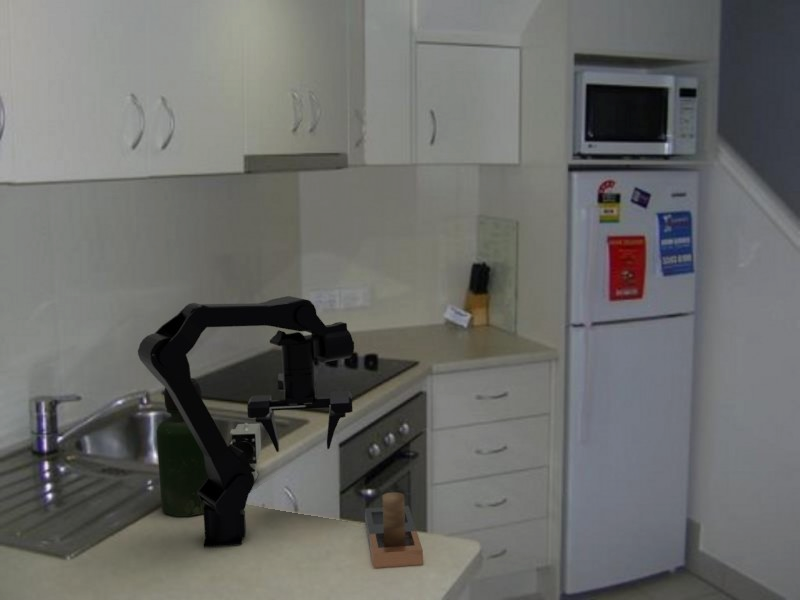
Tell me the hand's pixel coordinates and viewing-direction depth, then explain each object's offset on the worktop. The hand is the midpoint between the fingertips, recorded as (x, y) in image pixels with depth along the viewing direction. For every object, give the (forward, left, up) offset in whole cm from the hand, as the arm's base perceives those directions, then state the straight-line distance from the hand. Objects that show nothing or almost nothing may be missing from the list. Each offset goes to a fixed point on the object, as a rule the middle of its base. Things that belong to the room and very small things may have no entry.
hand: (303, 449), depth 167 cm
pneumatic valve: (-12, +24, -13) cm, 30 cm away
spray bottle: (-22, +9, -13) cm, 28 cm away
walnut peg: (+15, -19, -13) cm, 27 cm away
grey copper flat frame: (+15, -14, -13) cm, 24 cm away
